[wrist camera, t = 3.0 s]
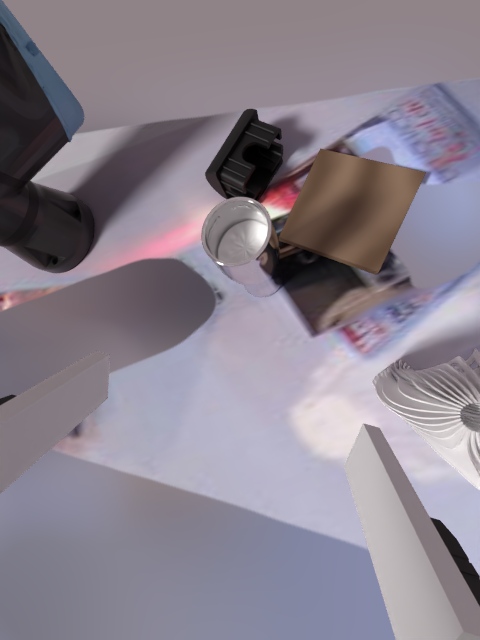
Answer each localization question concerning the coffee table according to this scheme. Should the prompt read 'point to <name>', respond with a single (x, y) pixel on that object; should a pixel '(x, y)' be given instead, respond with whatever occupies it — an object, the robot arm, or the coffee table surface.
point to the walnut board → (351, 209)
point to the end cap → (246, 159)
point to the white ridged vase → (439, 408)
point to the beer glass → (244, 245)
